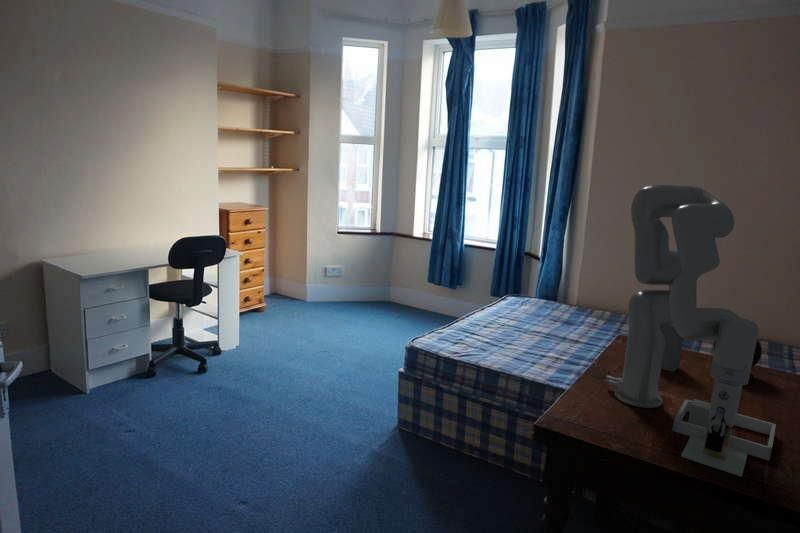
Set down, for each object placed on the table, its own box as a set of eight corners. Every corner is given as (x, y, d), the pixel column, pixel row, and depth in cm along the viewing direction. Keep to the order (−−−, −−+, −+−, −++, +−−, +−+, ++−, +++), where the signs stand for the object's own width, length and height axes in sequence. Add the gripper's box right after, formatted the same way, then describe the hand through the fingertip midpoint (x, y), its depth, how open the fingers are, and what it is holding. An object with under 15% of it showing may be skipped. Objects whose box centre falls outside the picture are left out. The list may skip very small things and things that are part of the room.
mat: (681, 456, 126) (681, 454, 126) (690, 436, 135) (691, 434, 135) (741, 476, 119) (742, 474, 119) (747, 454, 128) (747, 452, 128)
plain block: (687, 426, 141) (691, 404, 140) (690, 419, 144) (694, 398, 143) (707, 432, 138) (711, 410, 137) (709, 425, 142) (713, 404, 140)
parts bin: (672, 430, 138) (673, 419, 137) (684, 409, 150) (685, 399, 150) (769, 460, 126) (771, 449, 125) (773, 435, 138) (775, 424, 138)
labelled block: (702, 453, 126) (707, 428, 125) (706, 445, 130) (710, 421, 129) (725, 460, 124) (729, 435, 123) (727, 452, 127) (732, 428, 126)
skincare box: (679, 367, 181) (687, 322, 177) (673, 373, 175) (680, 326, 172) (652, 360, 186) (659, 315, 183) (645, 365, 181) (652, 320, 178)
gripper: (745, 389, 114) (730, 463, 118) (753, 365, 127) (739, 432, 131) (704, 379, 118) (691, 450, 122) (716, 357, 132) (704, 422, 136)
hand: (716, 441), depth 127 cm, fingers open, 9 cm apart
